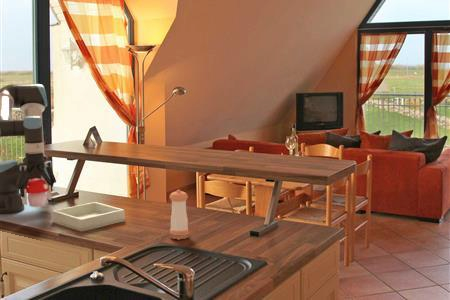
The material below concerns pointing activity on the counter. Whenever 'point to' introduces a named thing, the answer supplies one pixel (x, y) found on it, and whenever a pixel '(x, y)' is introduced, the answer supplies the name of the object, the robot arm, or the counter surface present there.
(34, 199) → the mushroom
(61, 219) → the tub
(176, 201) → the pepper shaker
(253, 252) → the counter surface
